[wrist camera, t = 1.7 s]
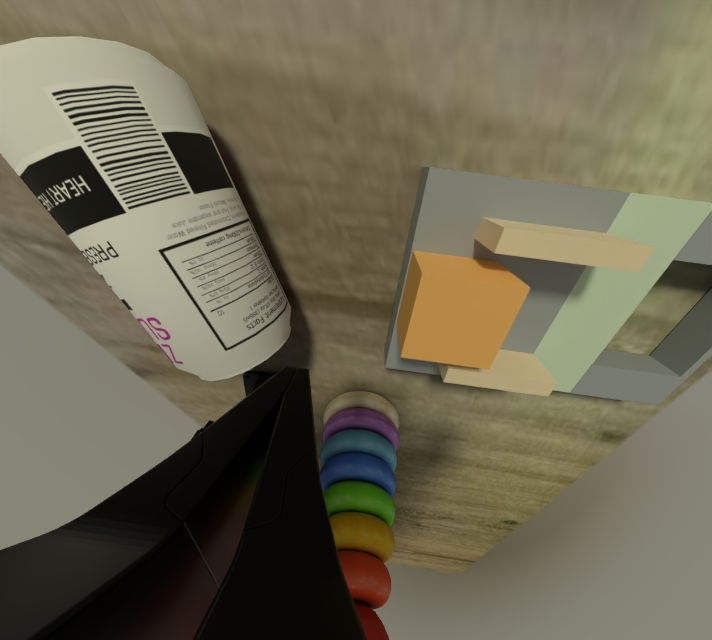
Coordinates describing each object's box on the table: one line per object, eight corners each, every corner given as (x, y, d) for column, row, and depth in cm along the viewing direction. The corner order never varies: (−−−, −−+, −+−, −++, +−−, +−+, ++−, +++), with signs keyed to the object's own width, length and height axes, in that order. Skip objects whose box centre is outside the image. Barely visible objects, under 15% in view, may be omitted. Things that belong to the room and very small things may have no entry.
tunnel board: (631, 382, 22) (698, 439, 18) (384, 348, 23) (385, 396, 18) (788, 213, 15) (972, 234, 10) (422, 167, 15) (442, 166, 11)
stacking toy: (314, 421, 29) (231, 741, 13) (343, 375, 25) (277, 756, 9) (376, 444, 30) (372, 761, 14) (413, 404, 26) (467, 783, 10)
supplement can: (200, 92, 15) (296, 305, 22) (57, 132, 14) (204, 340, 22) (131, -1, 8) (303, 353, 15) (-156, 64, 7) (167, 408, 14)
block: (468, 331, 18) (489, 369, 15) (396, 321, 18) (400, 357, 15) (497, 261, 15) (530, 287, 12) (412, 250, 16) (422, 273, 12)
